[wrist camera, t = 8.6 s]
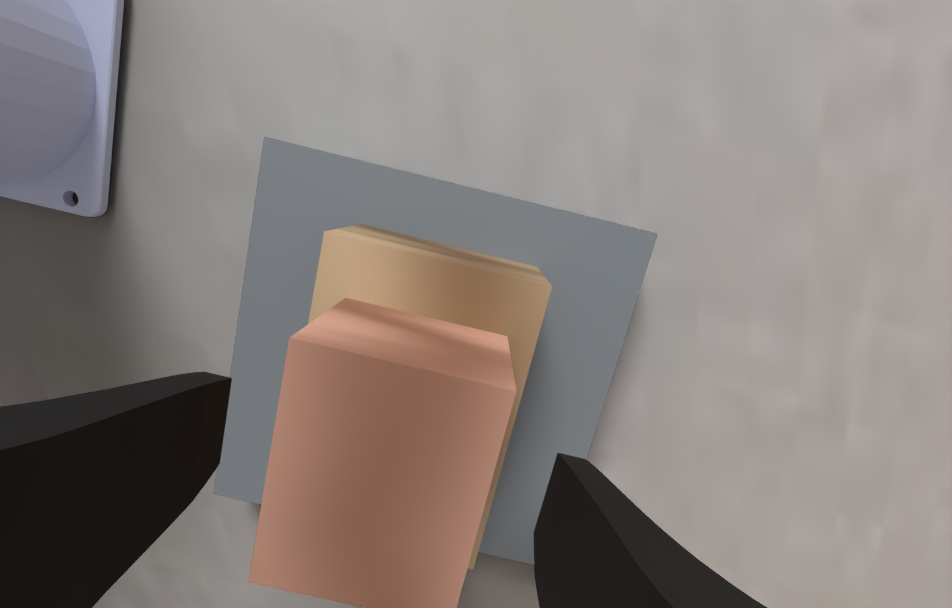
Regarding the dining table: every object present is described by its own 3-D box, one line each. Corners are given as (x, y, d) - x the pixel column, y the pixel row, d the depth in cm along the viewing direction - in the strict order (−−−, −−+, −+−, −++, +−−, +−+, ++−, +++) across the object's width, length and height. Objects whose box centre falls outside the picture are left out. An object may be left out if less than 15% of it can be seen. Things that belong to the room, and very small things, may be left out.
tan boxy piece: (316, 458, 17) (272, 525, 13) (360, 223, 15) (324, 231, 12) (475, 494, 17) (473, 570, 13) (536, 266, 15) (551, 286, 12)
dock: (247, 456, 19) (213, 493, 17) (295, 145, 17) (264, 136, 14) (543, 523, 20) (552, 569, 17) (633, 228, 17) (657, 233, 15)
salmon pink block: (310, 480, 13) (248, 582, 9) (345, 297, 12) (289, 338, 8) (460, 513, 13) (451, 626, 10) (507, 336, 12) (516, 391, 9)
